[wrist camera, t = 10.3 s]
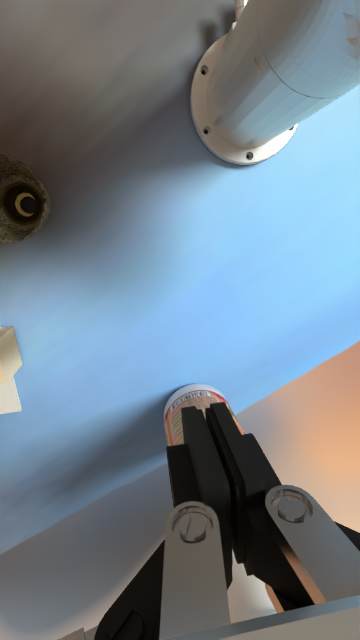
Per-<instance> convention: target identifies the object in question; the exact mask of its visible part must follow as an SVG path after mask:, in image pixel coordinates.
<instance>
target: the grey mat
mask: <svg viewBox="0 0 360 640" xmlns="http://www.w3.org/2000/svg"><path fill="white" fill-rule="evenodd" d="M0 328H1V325H0ZM21 410H22V408H21V404H20V400H19V396H18V392H17V388H16V384H15V380H14V376H12V378H11V379H10V380H9V381H8V383H3V384H0V414H4V413H11V412H19V411H21Z"/></svg>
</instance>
